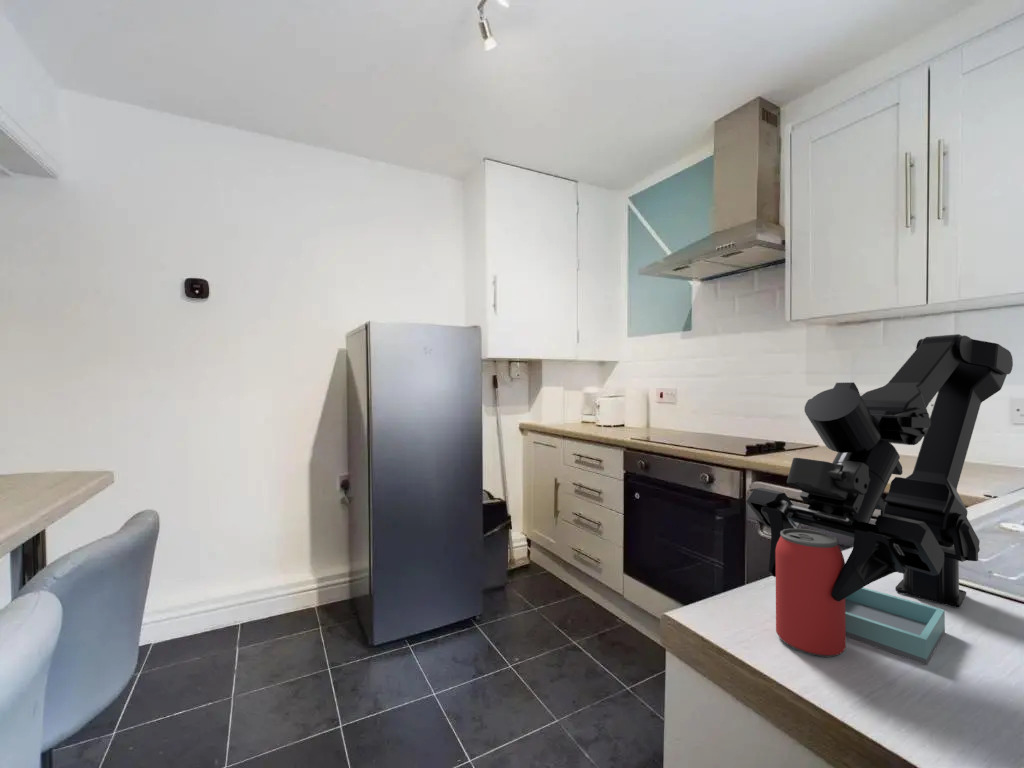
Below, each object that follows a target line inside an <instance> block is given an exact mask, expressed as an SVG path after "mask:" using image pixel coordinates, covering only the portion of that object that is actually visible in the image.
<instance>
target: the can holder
mask: <svg viewBox="0 0 1024 768" xmlns="http://www.w3.org/2000/svg"><path fill="white" fill-rule="evenodd" d="M945 614H946V612H945V609H942V608H939V607H935V606H931V605H928V604H925V603H922V602H921V603H920V602H917V601H914V600H910V599H907V598H903V597H900V596H899V597H898V596H895V595H892V594H889V593H885V592H881V591H877V590H874V589H871V588H866V587H865V586H864V587H863V588H861V589H859V590H858V591H856V592H854V593H853V594H851V595H849V596H848V597H846V598H845V615H846V638H849V639H852V640H854V641H858V642H861V643H863V644H866V645H869V646H871V647H874V648H876V649H880V650H883V651H886V652H889V653H892V654H894V655H897V656H900V657H901V658H905V659H908V660H911V661H914V662H915V663H916V662H917V663H920V664H922V665H925V666H928V663H930V660H931V658H932V656H933V655H934V652H935V651H936V649H937V647H938V645H939V644H940V643H941V640H942V638H943V637H944V635H945V633H946V624H945V622H946V620H945V619H946V615H945Z"/></svg>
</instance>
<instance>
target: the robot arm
mask: <svg viewBox="0 0 1024 768" xmlns="http://www.w3.org/2000/svg"><path fill="white" fill-rule="evenodd" d="M1013 361H1014V359H1013V355H1012V352H1011V351H1009V350H1008V349H1007V348H1006V347H1004V346H1002V345H1001V344H999V343H995V342H990V341H985V340H978V339H973V338H971V337H970V336H968V335H961V334H960V333H959V334H947V335H945V334H944V335H936V336H935V335H934V336H925V337H924V338H920V339H919V340H918V341H917V343H916V346H915V351H914V352H913V353H912V354H911V355H910V356H909V358H908V359H907V360H906V361H905V362H904V363H903V365H902V366H901V367H900V368H899V370H898V371H897V372H896V373H895V374H894V375H893V376H892V378H891V379H890V380H889V381H888V383H886V384H885V385H883V386H880V387H878V388H875V389H872V390H869V391H865V393H863V394H862V395H861V394H860V391H859V389H858V387H857V385H856V384H855V382H851V381H850V382H835V384H834V386H833V388H830V389H827V390H823V391H821V392H819V393H817V394H816V395H814V396H813V397H812V398H809V399H808V400H807V401H806V403H805V405H804V413H805V416H806V417H807V419H808V420H809V422H810V423H811V425H812V426H813V428H814V429H815V431H816V433H817V434H818V436H819V437H820V439H821V441H822V442H823V444H824V445H825V447H827V448H828V449H829V450H831V451H832V452H833V451H834V452H835V453H836V455H835V457H834V459H833V461H832V462H830V461H824V460H817V459H810V458H809V459H808V458H803V457H794V458H792V462H791V466H790V468H789V473H788V476H787V480H786V484H787V485H789V486H794V487H795V488H796V489H798V490H800V491H801V492H800V493H799V497H800V499H801V500H802V501H803V502H804V503H807V504H808V507H807V508H805V507H802V506H797V505H794V504H793V502H792V501H791V500H790V498H789V497H788V495H787V494H786V493H785V492H782V491H777V490H773V489H768V488H765V487H755V488H753V489H752V490H751V492H750V493H749V495H748V497H747V499H746V500H745V502H746V503H747V505H748V506H749V507H750V508H751V510H752V511H753V513H754V514H755V515H756V517H757V518H758V519H759V521H760V522H761V523H762V524H763V525H764V526H765V527H767V528H769V529H770V548H769V549H770V550H769V560H768V573H769V574H770V575H771V576H772V577H774V578H776V546H777V542H778V540H779V538H780V536H781V535H780V532H781V531H782V530H784V529H793V528H797V529H799V526H800V525H801V524H802V525H805V526H809V527H812V528H816V529H819V530H824V531H827V532H831V533H834V534H838V535H840V536H841V535H842V536H845V537H850V538H853V543H852V550H851V552H850V554H849V556H848V557H847V559H846V561H845V565H844V567H843V569H842V571H841V572H840V574H839V576H838V578H837V580H836V582H835V585H834V588H833V590H832V593H831V595H832V597H833V599H834V600H836V601H838V602H839V601H841V600H843V599H844V598H846V597H848V596H849V595H851V594H853V593H854V592H856V591H858V590H859V589H861V588H863V587H864V588H865V587H866V586H868V585H870V584H871V583H874V582H875V581H878V580H880V579H883V578H885V577H886V576H889V575H891V574H894V573H898V574H902V576H903V579H902V580H900V581H899V583H898V584H897V585H896V586H895V591H896V592H897V593H901V594H905V595H908V596H912V597H917V598H920V599H924V600H927V601H931V602H935V603H936V604H937V603H938V604H941V605H945V606H949V607H953V608H958V609H959V608H960V607H961V605H962V604H963V602H964V601H965V598H966V597H967V591H965V590H962V589H960V563H959V562H961V563H962V562H965V561H971V562H978V561H979V552H980V550H981V549H980V548H981V547H980V539H979V537H978V535H977V533H976V532H975V530H974V528H973V527H972V526H973V525H971V522H970V520H969V519H968V509H967V507H966V506H965V504H964V502H963V500H962V498H961V496H960V494H959V492H958V485H959V481H960V478H961V475H962V471H963V468H964V463H965V462H966V461H965V460H966V457H967V454H968V449H969V446H970V443H971V439H972V436H973V431H974V429H975V425H976V423H977V419H978V414H979V411H980V408H981V406H982V405H981V404H982V403H983V402H985V401H986V400H988V399H990V398H991V397H993V395H995V394H997V393H998V392H999V391H1002V388H1003V385H1004V383H1005V381H1006V378H1007V375H1010V374H1011V372H1012V370H1013V365H1014V364H1013V363H1014V362H1013ZM935 396H936V398H935ZM934 398H935V401H934V404H933V407H932V411H931V413H930V415H929V412H928V409H927V408H928V406H929V404H930V403H931V402H932V401H933V399H934ZM921 441H922V442H921ZM919 442H921V446H920V448H919V452H918V455H917V457H916V462H915V465H914V468H913V470H912V473H911V474H910V475H908V476H907V477H901V475H903V466H902V464H901V462H900V457H901V455H900V454H899V451H898V450H897V448H896V447H895V446H894V445H893V444H895V445H896V444H897V445H905V446H915V445H917V444H919ZM892 475H896V476H895V477H894V478H893V479H892V480H891V482H890V485H889V490H888V493H887V495H886V497H885V498H883V497H882V496H883V494H884V492H885V490H886V488H887V485H888V484H889V481H890V479H891V477H892ZM876 510H879V511H880V514H879V515H878V516H877V518H876V520H875V522H874V523H870V521H871V519H872V517H873V515H874V512H875V511H876Z"/></svg>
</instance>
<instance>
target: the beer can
mask: <svg viewBox="0 0 1024 768" xmlns="http://www.w3.org/2000/svg"><path fill="white" fill-rule="evenodd" d="M780 535H781V536H780V538H779V540H778V542H777V546H776V577H775V631H776V634H777V635H778V637H779V638H780V640H781V641H782V642H784V643H785V644H787V645H788V646H790V647H791V648H793V649H795V650H796V651H799V652H803V653H805V654H808V655H813V656H816V657H824V658H828V657H835V656H839V655H840V654H842V653H843V652H844V651H845V649H846V647H847V644H846V642H847V639H846V638H847V637H846V615H845V598H844V599H843V600H841V601H839V602H838V601H836V600H834V599H833V597H832V595H831V593H832V590H833V588H834V585H835V582H836V580H837V578H838V576H839V574H840V572H841V571H842V569H843V567H844V565H845V563H846V561H845V558H844V557H845V556H844V554H843V552H842V549H841V548H840V547H841V546H840V545H839V544H840V540H839V539H838V538H837V537H835V536H834V535H831V534H829V533H826V532H823V531H819V530H812V529H808V528H793V529H784V530H782V531H781V532H780Z"/></svg>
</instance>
